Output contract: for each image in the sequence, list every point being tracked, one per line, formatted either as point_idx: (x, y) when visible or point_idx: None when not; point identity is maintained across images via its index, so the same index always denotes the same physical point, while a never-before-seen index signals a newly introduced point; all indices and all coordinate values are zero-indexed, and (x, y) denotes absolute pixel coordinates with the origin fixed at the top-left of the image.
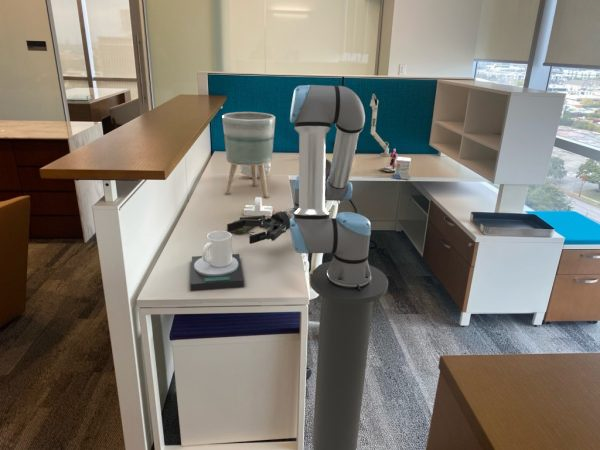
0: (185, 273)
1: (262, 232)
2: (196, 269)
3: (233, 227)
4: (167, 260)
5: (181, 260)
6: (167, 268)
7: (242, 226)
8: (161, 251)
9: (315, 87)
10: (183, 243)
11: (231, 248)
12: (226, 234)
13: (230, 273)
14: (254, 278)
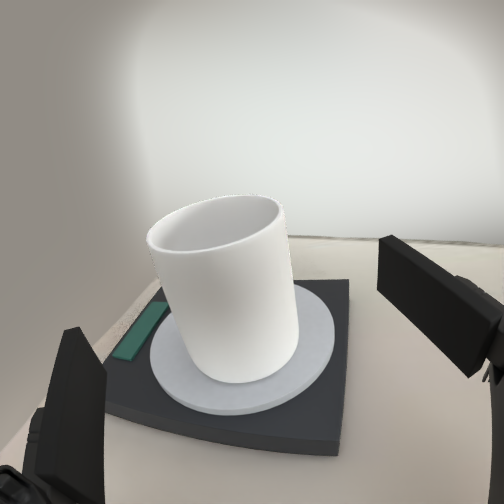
0: None
1: (48, 441)
2: None
3: (407, 295)
4: (371, 254)
5: (368, 277)
6: (321, 257)
7: (466, 364)
8: (427, 242)
9: None
10: (488, 273)
11: (184, 319)
12: (253, 254)
13: (151, 369)
14: (119, 464)
